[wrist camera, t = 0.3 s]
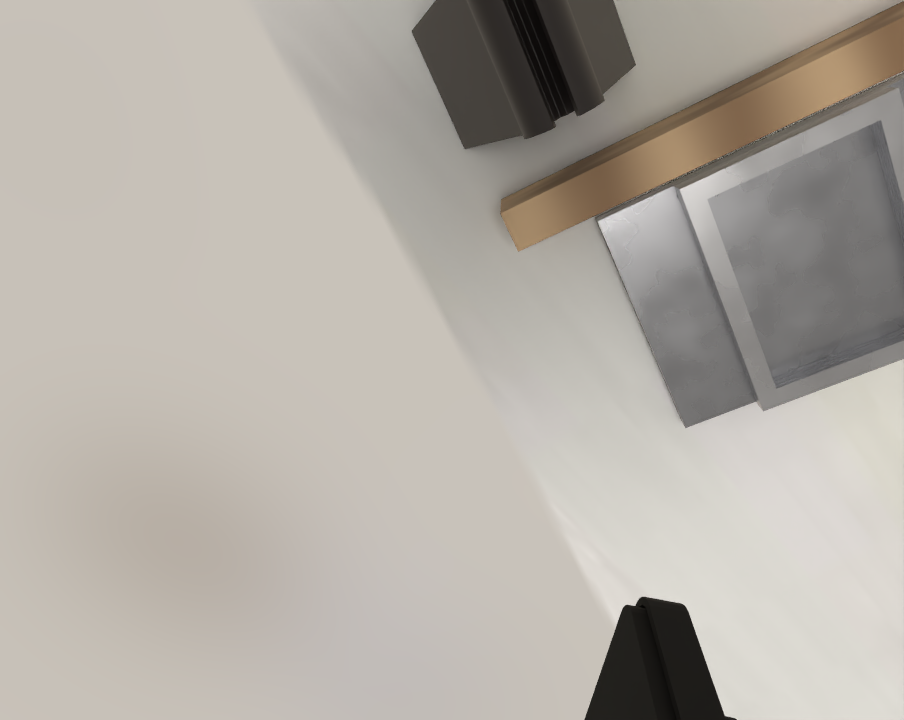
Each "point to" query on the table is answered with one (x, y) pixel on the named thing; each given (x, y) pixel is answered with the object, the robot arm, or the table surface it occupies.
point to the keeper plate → (774, 261)
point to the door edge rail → (710, 128)
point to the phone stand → (521, 62)
